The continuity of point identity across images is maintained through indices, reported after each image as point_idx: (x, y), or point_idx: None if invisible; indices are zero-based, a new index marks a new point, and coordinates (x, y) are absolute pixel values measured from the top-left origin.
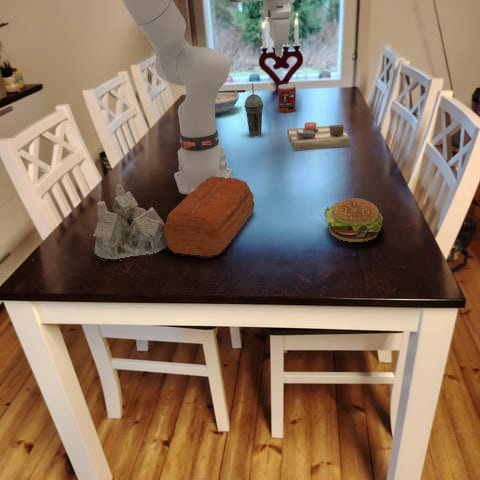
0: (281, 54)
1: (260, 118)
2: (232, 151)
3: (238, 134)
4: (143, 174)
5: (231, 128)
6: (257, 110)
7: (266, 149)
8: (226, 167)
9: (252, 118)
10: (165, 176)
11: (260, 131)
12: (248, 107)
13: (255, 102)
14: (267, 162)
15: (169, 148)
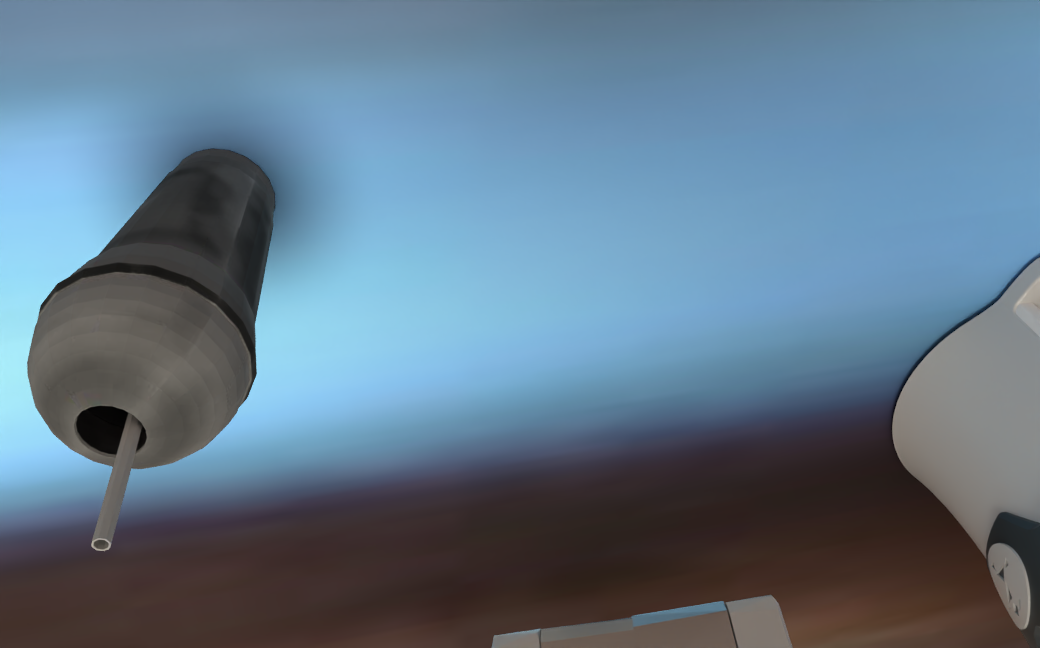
0: (783, 628)
1: (209, 222)
2: (630, 307)
3: None
4: (915, 638)
5: None
6: (234, 294)
7: (614, 61)
8: (1022, 300)
9: (258, 295)
10: (978, 555)
11: (229, 166)
12: (248, 393)
13: (219, 363)
14: (931, 23)
15: (535, 629)
